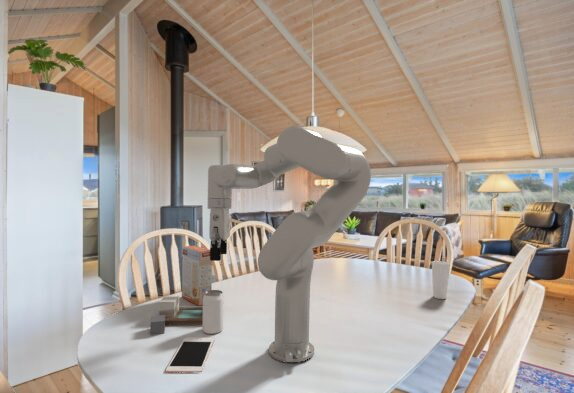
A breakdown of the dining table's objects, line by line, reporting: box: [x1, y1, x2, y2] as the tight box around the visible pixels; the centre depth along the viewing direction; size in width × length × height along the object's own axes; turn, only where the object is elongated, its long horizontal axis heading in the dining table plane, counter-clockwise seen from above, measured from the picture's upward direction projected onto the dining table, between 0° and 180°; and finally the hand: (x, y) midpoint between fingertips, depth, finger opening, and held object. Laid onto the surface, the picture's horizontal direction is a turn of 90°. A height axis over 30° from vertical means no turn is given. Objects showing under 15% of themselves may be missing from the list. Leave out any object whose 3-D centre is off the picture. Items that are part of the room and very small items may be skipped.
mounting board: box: [158, 295, 203, 326], centre depth 116 cm, size 12×20×6 cm, turn 93°
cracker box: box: [181, 245, 213, 306], centre depth 134 cm, size 14×6×21 cm, turn 43°
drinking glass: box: [431, 260, 450, 300], centre depth 143 cm, size 7×7×15 cm
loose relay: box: [149, 315, 166, 336], centre depth 106 cm, size 5×4×4 cm
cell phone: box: [165, 337, 215, 374], centre depth 92 cm, size 9×18×1 cm, turn 2°
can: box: [201, 289, 225, 335], centre depth 107 cm, size 6×6×12 cm
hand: (218, 257), depth 109 cm, fingers open, 9 cm apart
